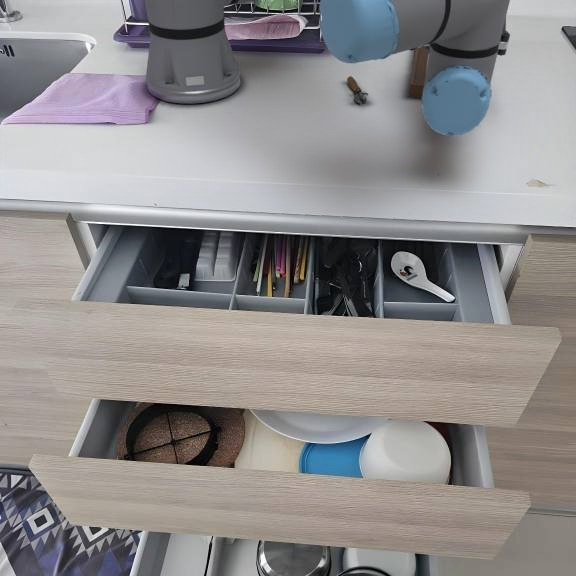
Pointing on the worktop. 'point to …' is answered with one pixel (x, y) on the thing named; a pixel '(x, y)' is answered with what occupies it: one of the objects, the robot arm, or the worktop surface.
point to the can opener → (356, 90)
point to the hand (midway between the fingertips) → (458, 5)
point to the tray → (418, 73)
